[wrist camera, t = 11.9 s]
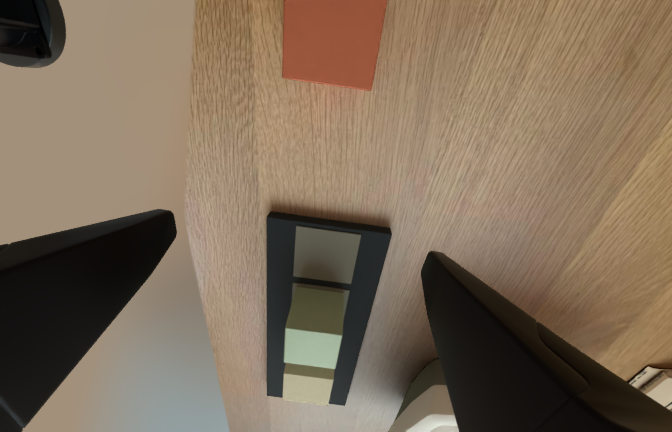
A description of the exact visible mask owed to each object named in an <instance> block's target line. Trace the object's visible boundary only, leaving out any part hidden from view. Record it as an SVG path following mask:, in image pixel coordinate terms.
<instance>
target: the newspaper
mask: <svg viewBox="0 0 672 432" xmlns="http://www.w3.org/2000/svg"><path fill="white" fill-rule="evenodd" d="M629 384H631V385H632V386H634V387H635V388H637V389H638V390H640V391H641V392H643V393H644V394H646V395H647V396H649V397H650V398H652V399H654V400H655V401H657V402H658V403H660V404H661V405H663V406H664V407H666V408H667V409H669V410H671V411H672V369H656V368H651V367H649V366H648V367H647V368H646V369H645V370H643V371H642V372H641V373H640V374H639V375H637V376H636V377H635V378H634V379H632V380H631V381H630V382H629Z"/></svg>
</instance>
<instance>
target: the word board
mask: <svg viewBox="0 0 672 432" xmlns="http://www.w3.org/2000/svg"><path fill="white" fill-rule="evenodd" d="M391 235H392V234H391V230H390V228H385V227H378V226H371V225H364V224H356V223H349V222H342V221H335V220H327V219H320V218H313V217H306V216H299V215H291V214H284V213H277V212H270V213H269V214H268V216H267V396H274V397H282V398H283V400H286V401H294V402H302V403H309V404H317V405H325V406H328V404H336V405H344V406H345V403H346V400H347V396H348V392H349V389H350V385H351V381H352V378H353V374H354V370H355V367H356V363H357V359H358V356H359V352H360V348H361V345H362V341H363V338H364V334H365V330H366V327H367V323H368V319H369V316H370V312H371V308H372V305H373V301H374V297H375V294H376V290H377V286H378V283H379V279H380V275H381V272H382V268H383V265H384V261H385V257H386V254H387V250H388V246H389V243H390V239H391ZM296 287H302V288H310V289H317V290H324V291H332V292H339V293H344V308H343V335H342V340H341V345H340V350H339V354H338V359H337V364H336V368H335V369H330V368H323V367H315V366H307V365H300V364H292V363H284V342H285V326H286V323H287V319H288V315H289V312H290V308H291V304H292V301H293V297H294V293H295V290H296Z"/></svg>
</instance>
